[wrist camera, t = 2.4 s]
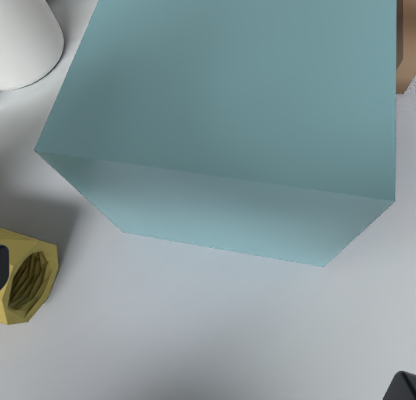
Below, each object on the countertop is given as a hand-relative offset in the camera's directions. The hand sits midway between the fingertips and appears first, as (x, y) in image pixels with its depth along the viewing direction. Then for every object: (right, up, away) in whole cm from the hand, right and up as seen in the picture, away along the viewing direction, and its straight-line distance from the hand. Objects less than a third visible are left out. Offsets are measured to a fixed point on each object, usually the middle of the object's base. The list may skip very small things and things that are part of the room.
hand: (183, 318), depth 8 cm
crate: (+2, +4, +14) cm, 15 cm away
